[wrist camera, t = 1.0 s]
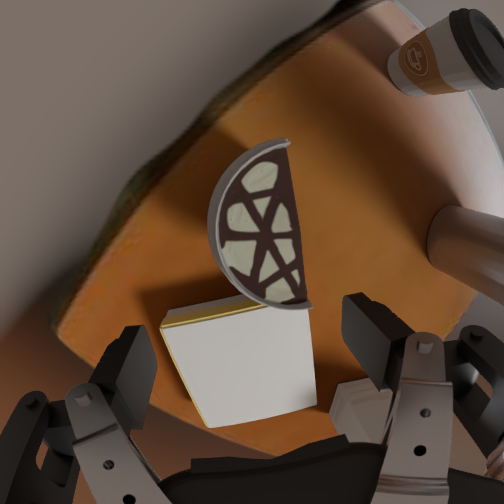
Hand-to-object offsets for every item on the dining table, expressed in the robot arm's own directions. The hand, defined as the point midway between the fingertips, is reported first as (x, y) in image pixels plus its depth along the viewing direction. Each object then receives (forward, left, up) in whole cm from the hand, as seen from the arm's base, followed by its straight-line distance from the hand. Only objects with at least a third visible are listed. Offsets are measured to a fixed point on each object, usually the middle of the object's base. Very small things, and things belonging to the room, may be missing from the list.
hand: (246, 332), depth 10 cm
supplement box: (-13, +28, -17) cm, 36 cm away
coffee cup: (-25, -16, -17) cm, 34 cm away
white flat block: (+1, +14, -17) cm, 22 cm away
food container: (-2, -2, -17) cm, 18 cm away
